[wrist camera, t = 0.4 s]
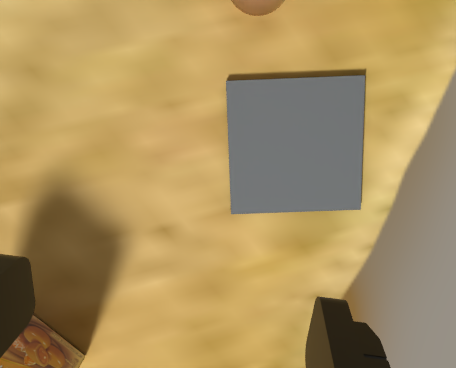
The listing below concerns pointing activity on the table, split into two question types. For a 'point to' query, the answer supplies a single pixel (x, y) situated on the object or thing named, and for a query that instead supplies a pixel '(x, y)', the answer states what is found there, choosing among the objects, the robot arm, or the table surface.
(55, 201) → the table surface
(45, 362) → the candy box
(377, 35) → the table surface
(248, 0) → the terracotta canister
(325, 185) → the rubber mat
